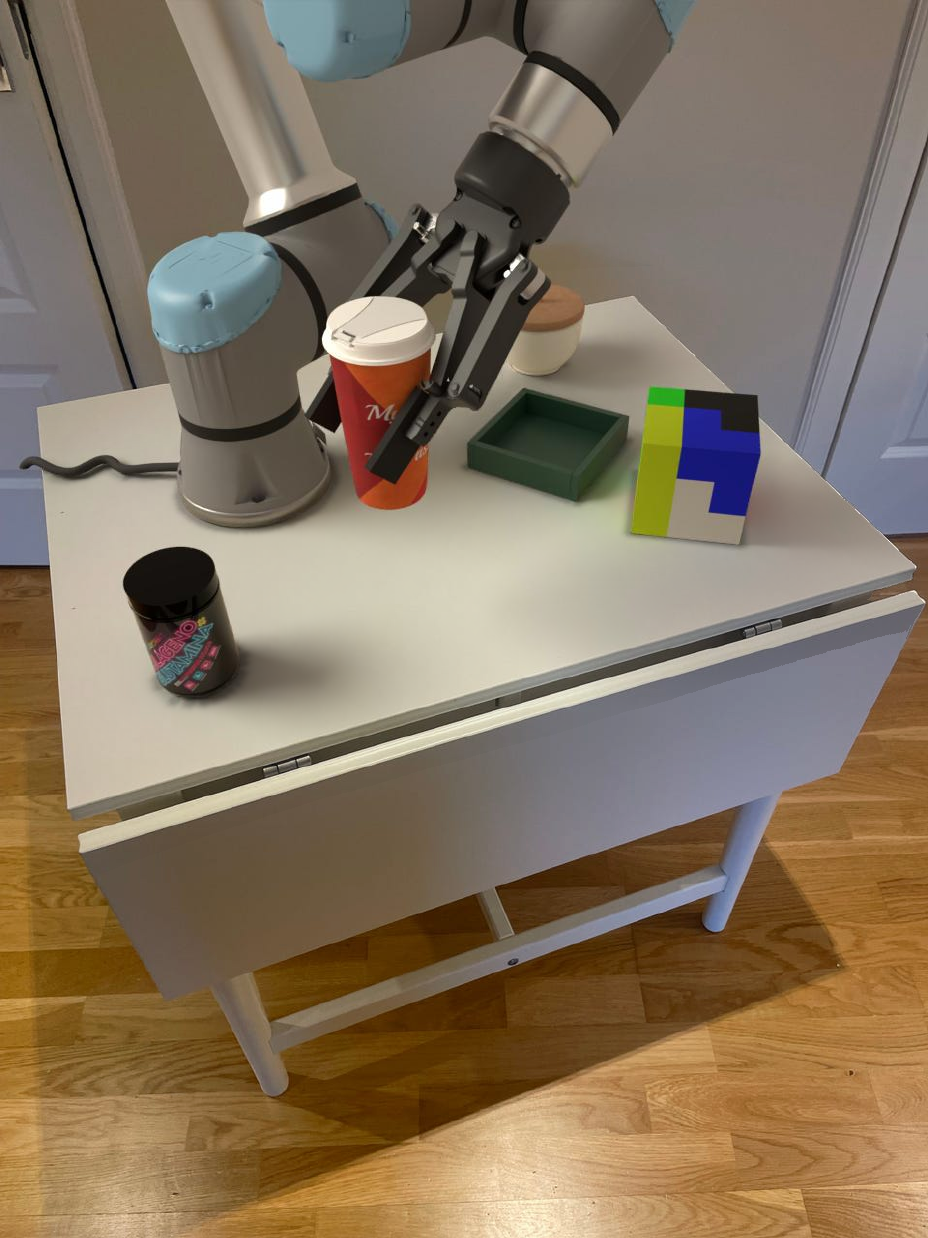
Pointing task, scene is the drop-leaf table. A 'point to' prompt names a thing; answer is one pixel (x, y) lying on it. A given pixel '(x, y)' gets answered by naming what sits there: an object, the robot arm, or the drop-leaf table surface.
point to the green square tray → (548, 443)
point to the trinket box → (549, 333)
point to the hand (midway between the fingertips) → (348, 448)
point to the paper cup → (379, 386)
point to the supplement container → (183, 620)
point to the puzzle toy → (696, 464)
